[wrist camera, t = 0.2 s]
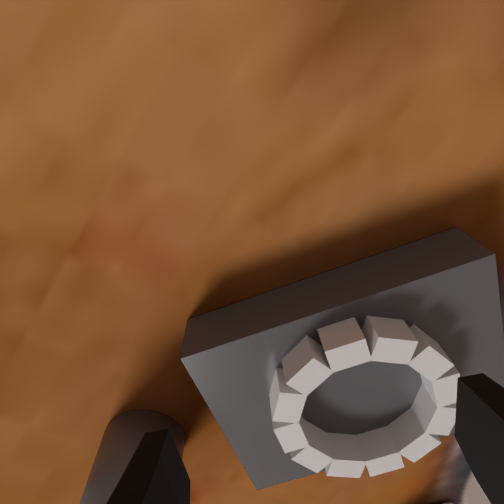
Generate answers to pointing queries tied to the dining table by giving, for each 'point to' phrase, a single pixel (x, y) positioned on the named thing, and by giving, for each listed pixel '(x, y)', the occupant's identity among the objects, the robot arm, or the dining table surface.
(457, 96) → the dining table surface
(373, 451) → the grey flange plate
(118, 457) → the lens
